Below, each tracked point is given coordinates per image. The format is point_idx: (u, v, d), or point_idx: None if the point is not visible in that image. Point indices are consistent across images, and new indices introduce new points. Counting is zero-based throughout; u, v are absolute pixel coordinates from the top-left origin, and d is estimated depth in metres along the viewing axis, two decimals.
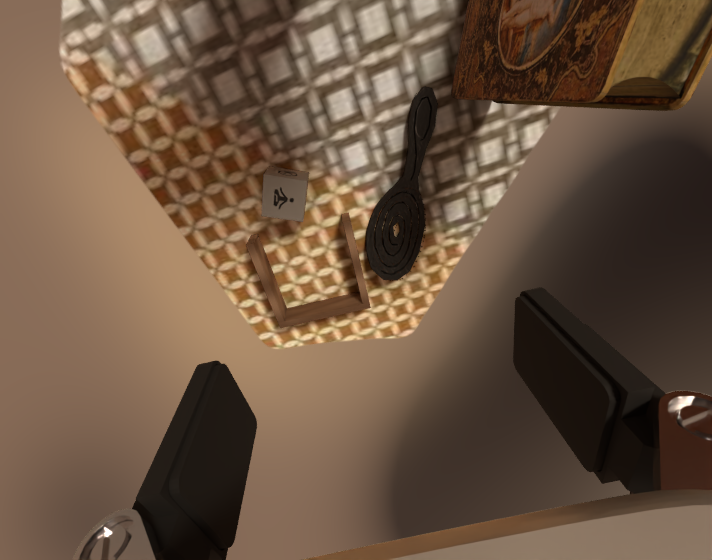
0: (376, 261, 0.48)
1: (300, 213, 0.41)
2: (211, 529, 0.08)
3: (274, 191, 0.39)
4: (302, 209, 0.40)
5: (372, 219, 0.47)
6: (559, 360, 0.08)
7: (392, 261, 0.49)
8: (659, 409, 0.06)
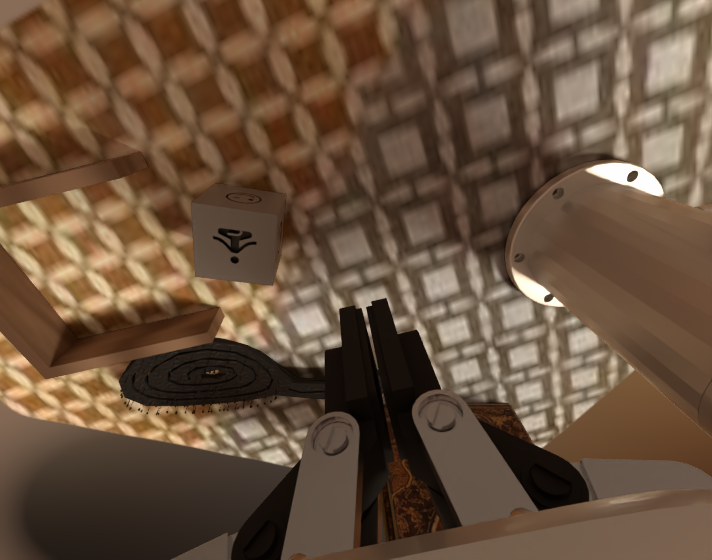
0: (151, 362, 0.29)
1: (210, 273, 0.22)
2: (387, 440, 0.09)
3: (247, 230, 0.21)
4: (219, 276, 0.22)
5: (223, 344, 0.30)
6: None
7: (158, 381, 0.30)
8: (414, 405, 0.07)
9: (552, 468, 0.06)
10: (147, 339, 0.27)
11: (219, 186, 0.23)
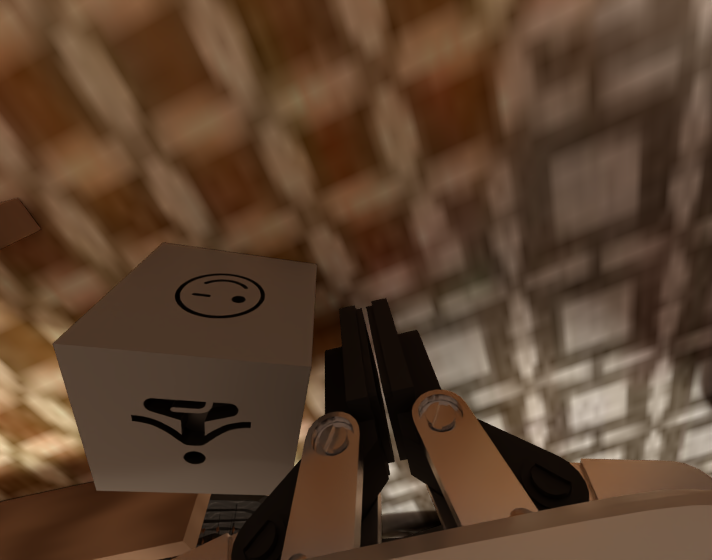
0: None
1: (135, 483, 0.09)
2: (388, 440, 0.09)
3: (225, 399, 0.08)
4: (159, 487, 0.09)
5: (224, 502, 0.17)
6: None
7: None
8: (413, 405, 0.07)
9: (552, 468, 0.06)
10: (71, 540, 0.14)
11: (167, 256, 0.10)
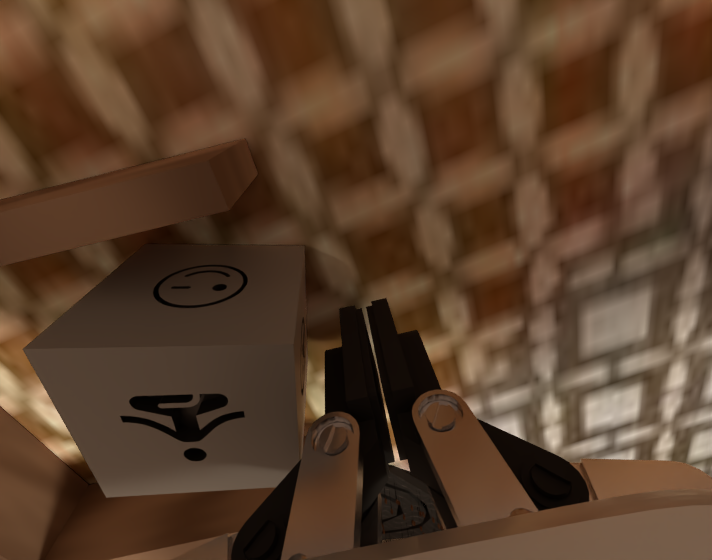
0: None
1: (143, 487, 0.09)
2: (388, 440, 0.09)
3: (212, 390, 0.07)
4: (167, 488, 0.09)
5: None
6: None
7: None
8: (414, 405, 0.07)
9: (552, 468, 0.06)
10: (227, 509, 0.14)
11: (149, 255, 0.10)
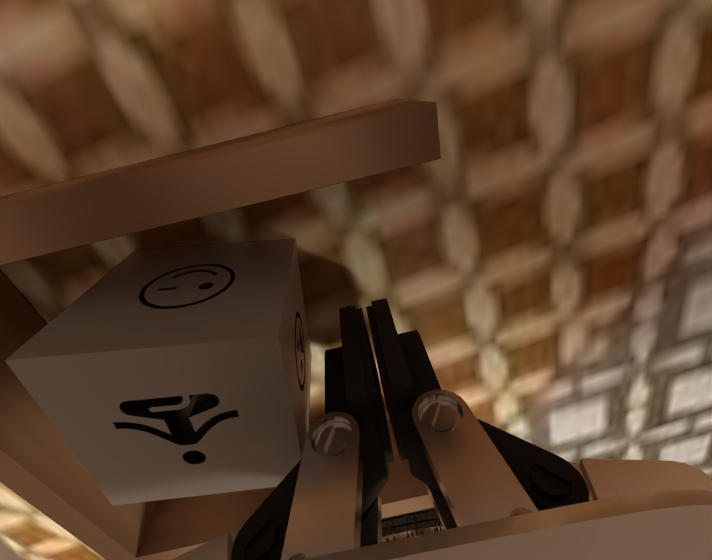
0: None
1: (147, 493, 0.09)
2: (387, 440, 0.09)
3: (202, 389, 0.07)
4: (171, 493, 0.09)
5: None
6: None
7: None
8: (414, 405, 0.07)
9: (552, 468, 0.06)
10: None
11: (138, 260, 0.10)
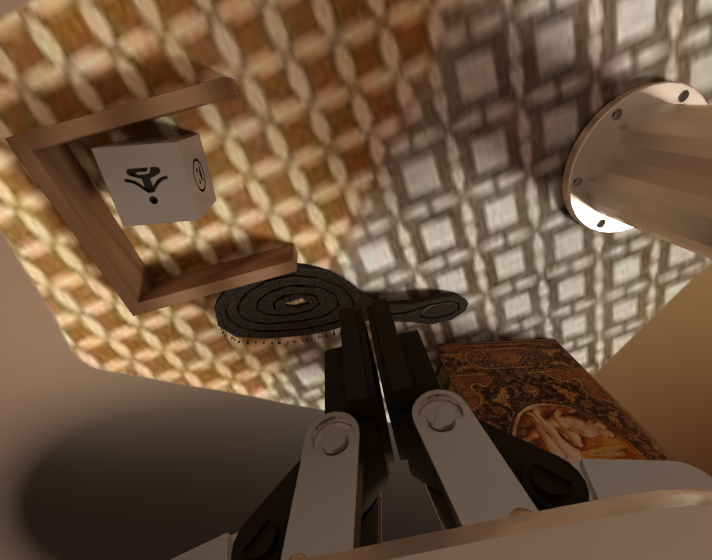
0: (243, 288, 0.30)
1: (136, 220, 0.23)
2: (387, 440, 0.09)
3: (154, 166, 0.21)
4: (146, 221, 0.23)
5: (309, 269, 0.31)
6: None
7: (248, 310, 0.31)
8: (414, 405, 0.07)
9: (552, 468, 0.06)
10: (231, 272, 0.28)
11: (130, 139, 0.24)
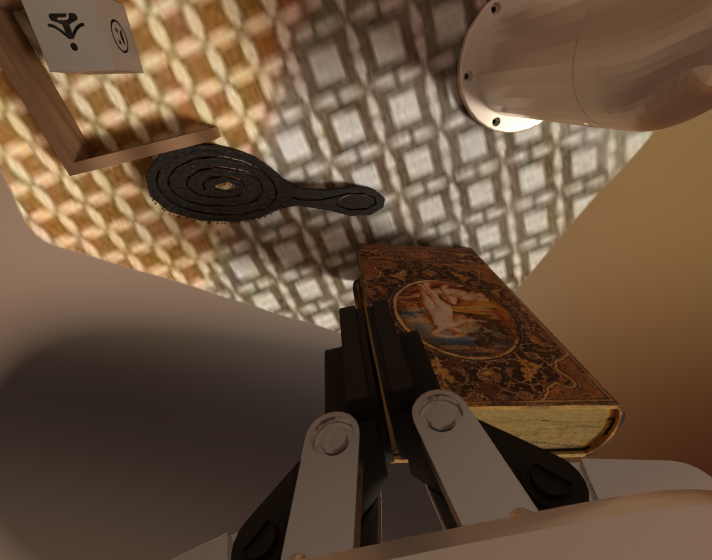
0: (172, 162, 0.34)
1: (61, 66, 0.27)
2: (387, 440, 0.09)
3: (72, 13, 0.25)
4: (69, 67, 0.27)
5: (233, 152, 0.35)
6: None
7: (178, 186, 0.35)
8: (414, 405, 0.07)
9: (552, 468, 0.06)
10: (155, 142, 0.32)
11: None
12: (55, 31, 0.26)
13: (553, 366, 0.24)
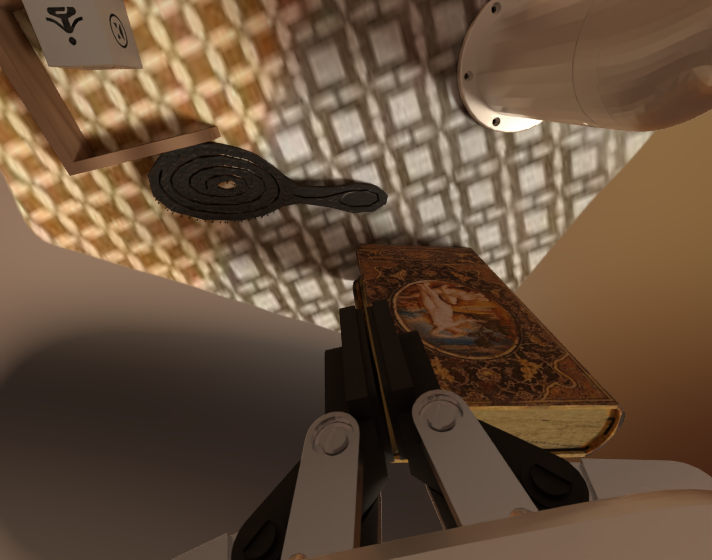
0: (174, 161, 0.34)
1: (59, 60, 0.26)
2: (387, 440, 0.09)
3: (70, 7, 0.25)
4: (68, 62, 0.26)
5: (235, 150, 0.35)
6: None
7: (181, 185, 0.35)
8: (414, 405, 0.07)
9: (552, 468, 0.06)
10: None
11: None
12: (53, 25, 0.25)
13: (553, 366, 0.24)
